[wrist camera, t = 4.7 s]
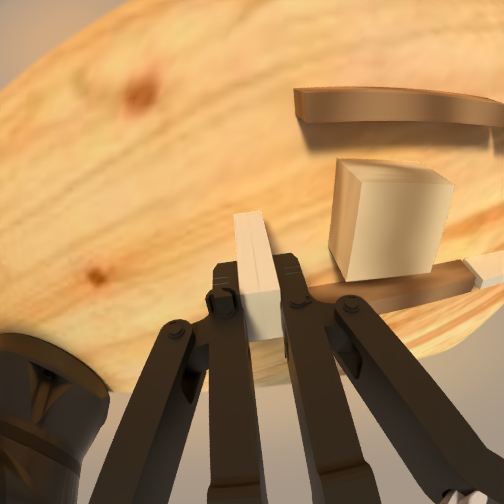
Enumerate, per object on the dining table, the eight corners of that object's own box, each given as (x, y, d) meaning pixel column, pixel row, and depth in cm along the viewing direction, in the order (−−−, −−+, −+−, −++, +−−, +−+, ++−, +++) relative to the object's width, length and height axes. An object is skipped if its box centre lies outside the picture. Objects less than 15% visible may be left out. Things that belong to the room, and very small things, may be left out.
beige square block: (327, 244, 21) (345, 281, 18) (335, 157, 18) (361, 182, 15) (403, 239, 22) (430, 272, 18) (419, 160, 18) (454, 185, 15)
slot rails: (303, 303, 24) (310, 327, 22) (293, 88, 15) (304, 93, 13) (456, 273, 24) (470, 291, 22) (486, 98, 16) (511, 106, 13)
